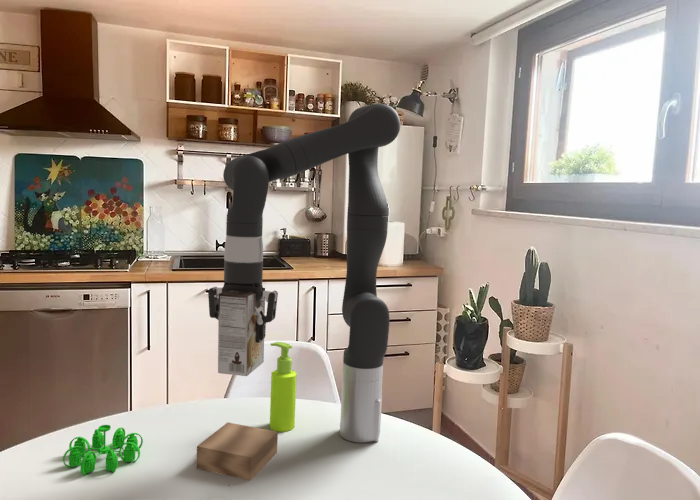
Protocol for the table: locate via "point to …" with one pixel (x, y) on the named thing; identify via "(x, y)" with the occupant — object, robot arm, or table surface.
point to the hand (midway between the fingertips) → (241, 340)
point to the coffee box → (239, 333)
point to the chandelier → (103, 449)
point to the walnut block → (237, 450)
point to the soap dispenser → (283, 392)
